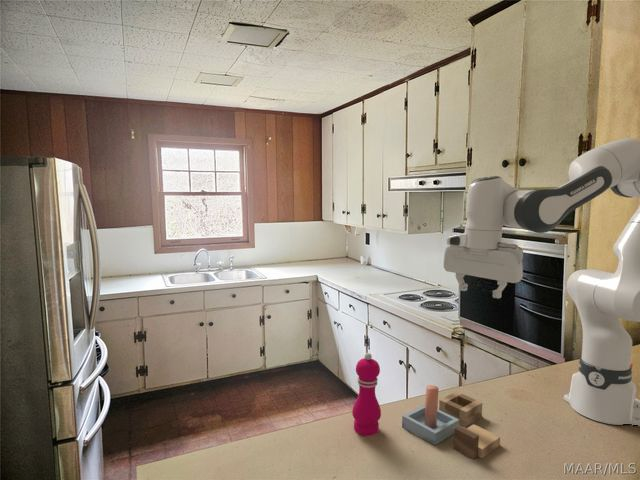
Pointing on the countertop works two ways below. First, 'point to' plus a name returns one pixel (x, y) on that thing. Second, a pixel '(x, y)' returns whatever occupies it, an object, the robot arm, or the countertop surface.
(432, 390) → the dowel
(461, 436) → the block
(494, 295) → the robot arm
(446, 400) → the socket block
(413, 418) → the tray
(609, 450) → the countertop surface
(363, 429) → the pepper mill
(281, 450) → the countertop surface
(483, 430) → the tan wooden cuboid
